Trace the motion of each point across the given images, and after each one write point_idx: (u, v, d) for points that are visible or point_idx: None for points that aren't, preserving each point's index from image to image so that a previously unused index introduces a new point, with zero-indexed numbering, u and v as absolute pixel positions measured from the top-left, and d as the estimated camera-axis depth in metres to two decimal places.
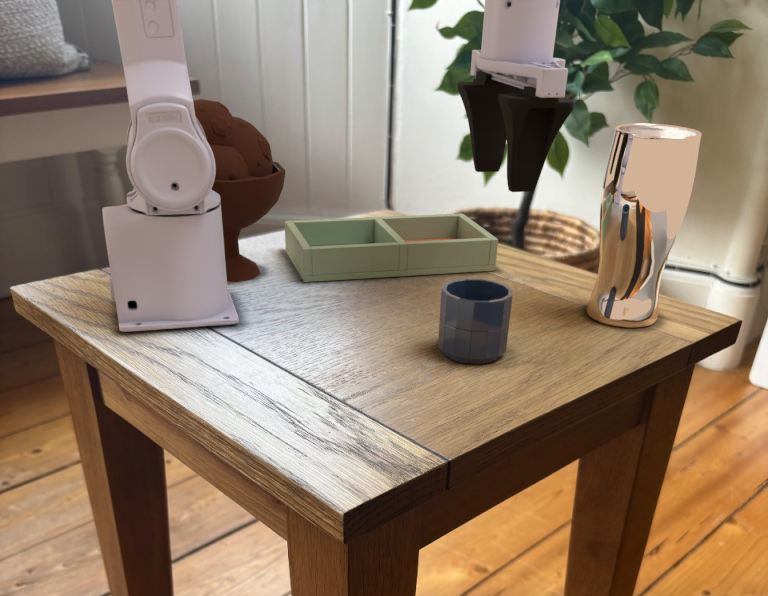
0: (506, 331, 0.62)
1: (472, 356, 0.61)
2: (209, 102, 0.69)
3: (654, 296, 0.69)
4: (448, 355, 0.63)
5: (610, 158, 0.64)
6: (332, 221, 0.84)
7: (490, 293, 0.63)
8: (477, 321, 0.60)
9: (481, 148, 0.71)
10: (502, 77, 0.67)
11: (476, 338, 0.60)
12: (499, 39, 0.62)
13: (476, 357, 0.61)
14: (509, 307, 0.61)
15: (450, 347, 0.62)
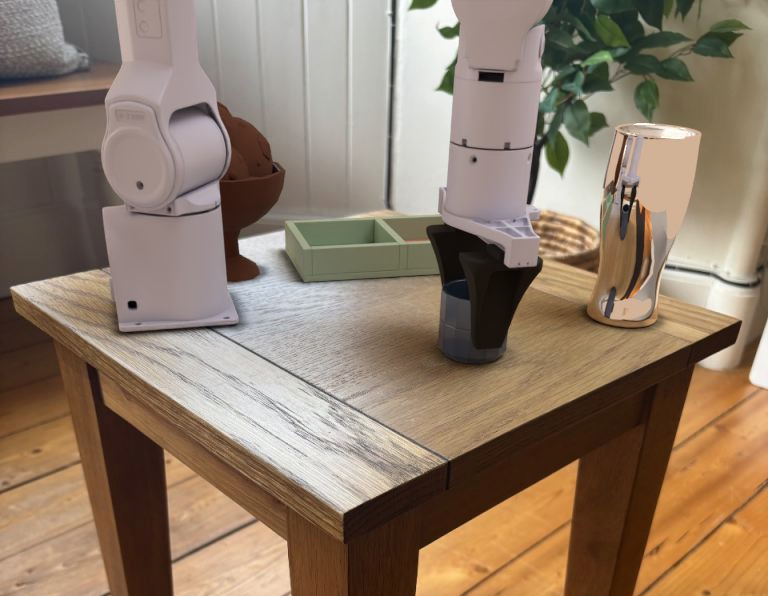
0: None
1: (472, 356, 0.61)
2: None
3: (654, 296, 0.69)
4: (448, 355, 0.63)
5: (610, 158, 0.64)
6: (332, 221, 0.84)
7: None
8: None
9: None
10: None
11: None
12: (465, 196, 0.55)
13: (476, 357, 0.61)
14: None
15: (450, 347, 0.62)
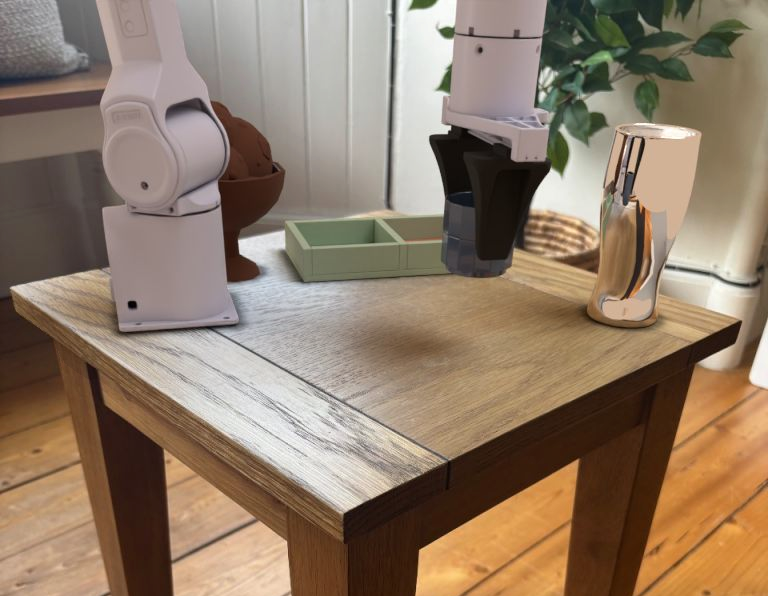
0: None
1: (476, 269, 0.59)
2: None
3: (654, 296, 0.69)
4: (451, 270, 0.60)
5: (610, 158, 0.64)
6: (332, 221, 0.84)
7: None
8: None
9: None
10: (475, 130, 0.57)
11: None
12: (470, 90, 0.53)
13: (480, 270, 0.59)
14: None
15: (453, 260, 0.59)
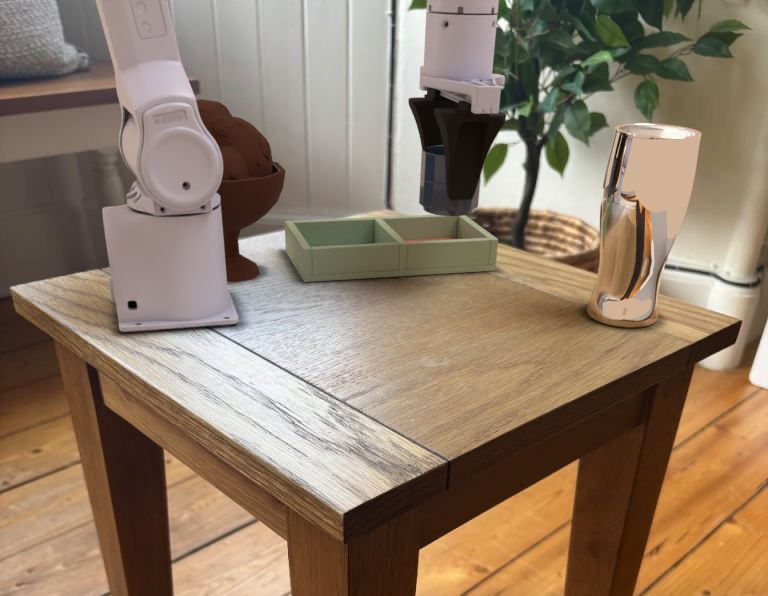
0: (477, 187, 0.71)
1: (448, 208, 0.71)
2: (209, 102, 0.69)
3: (654, 296, 0.69)
4: (428, 210, 0.72)
5: (610, 158, 0.64)
6: (332, 221, 0.84)
7: None
8: None
9: None
10: (446, 92, 0.70)
11: None
12: (439, 58, 0.65)
13: (451, 209, 0.71)
14: None
15: (429, 201, 0.71)
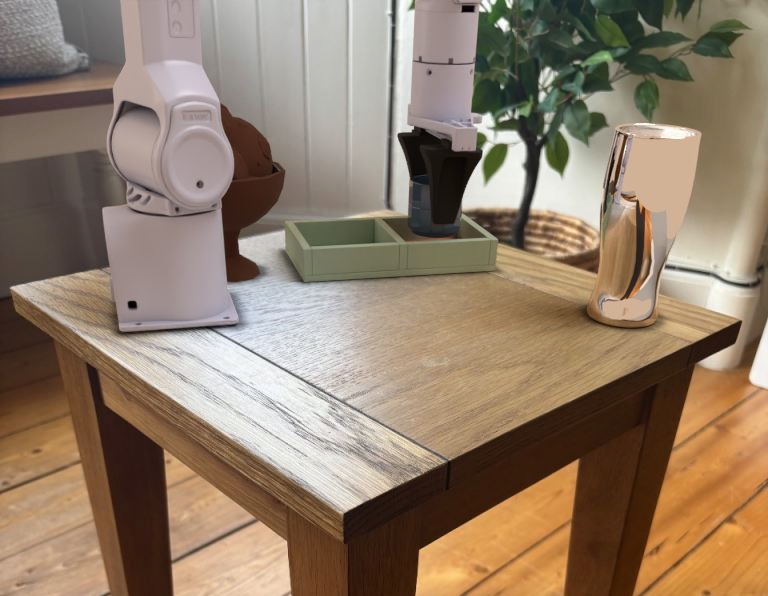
0: (459, 212, 0.80)
1: (433, 231, 0.80)
2: None
3: (654, 296, 0.69)
4: (415, 232, 0.81)
5: (610, 158, 0.64)
6: (332, 221, 0.84)
7: None
8: None
9: None
10: (430, 129, 0.79)
11: None
12: (423, 101, 0.74)
13: (436, 232, 0.80)
14: None
15: (416, 224, 0.80)
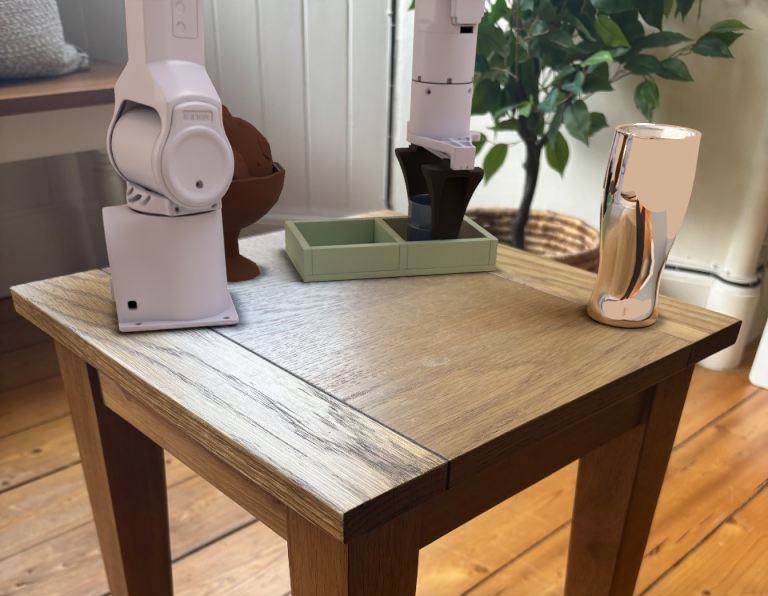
0: None
1: None
2: None
3: (654, 296, 0.69)
4: None
5: (610, 158, 0.64)
6: (332, 221, 0.84)
7: None
8: None
9: None
10: None
11: None
12: (422, 120, 0.75)
13: None
14: None
15: None
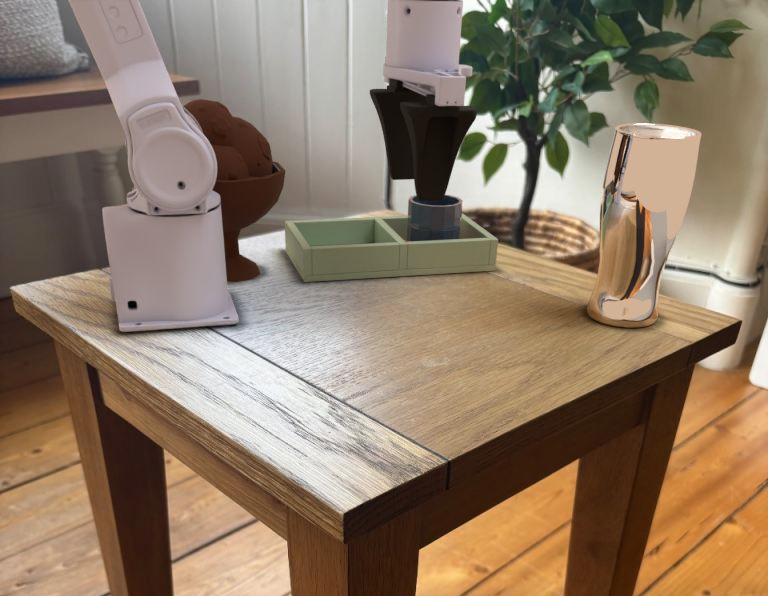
0: (457, 231, 0.81)
1: None
2: (209, 102, 0.69)
3: (654, 296, 0.69)
4: None
5: (610, 158, 0.64)
6: (332, 221, 0.84)
7: (446, 204, 0.83)
8: (434, 222, 0.80)
9: (395, 156, 0.70)
10: (411, 84, 0.66)
11: (434, 235, 0.80)
12: (401, 47, 0.61)
13: None
14: (459, 212, 0.80)
15: None
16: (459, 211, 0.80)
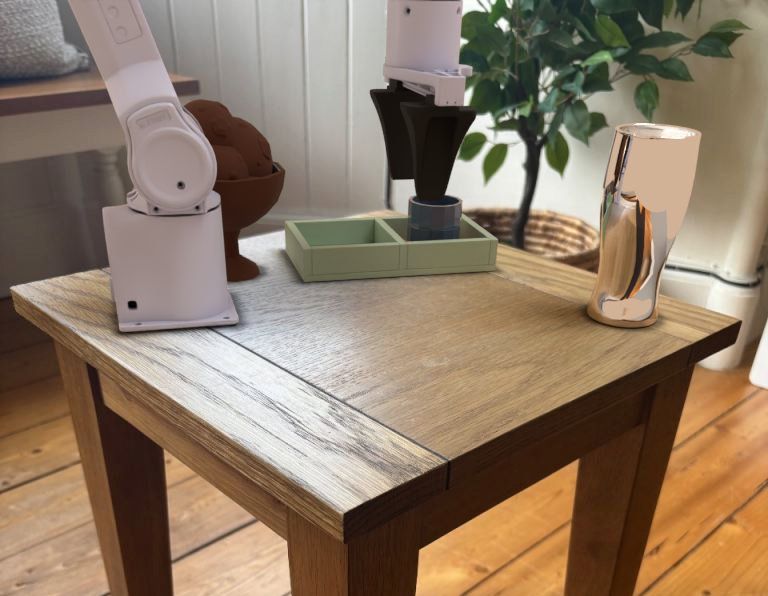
0: (457, 231, 0.81)
1: None
2: (209, 102, 0.69)
3: (654, 296, 0.69)
4: None
5: (610, 158, 0.64)
6: (332, 221, 0.84)
7: (446, 204, 0.83)
8: (434, 222, 0.80)
9: (395, 156, 0.70)
10: (410, 84, 0.66)
11: (434, 235, 0.80)
12: (401, 47, 0.61)
13: None
14: (459, 212, 0.80)
15: None
16: (459, 211, 0.80)
